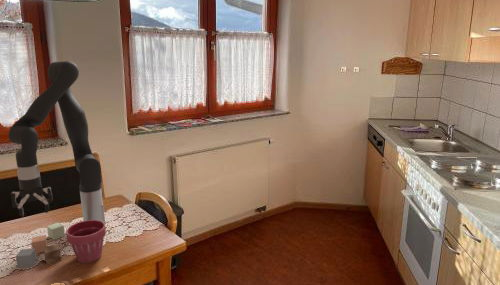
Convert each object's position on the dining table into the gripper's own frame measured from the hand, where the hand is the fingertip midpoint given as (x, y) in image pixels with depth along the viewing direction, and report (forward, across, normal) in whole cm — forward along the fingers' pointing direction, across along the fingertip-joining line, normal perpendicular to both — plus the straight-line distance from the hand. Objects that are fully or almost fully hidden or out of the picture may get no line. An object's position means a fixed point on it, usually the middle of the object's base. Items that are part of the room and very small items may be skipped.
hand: (34, 214), depth 159 cm
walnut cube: (+16, -5, +11) cm, 20 cm away
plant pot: (+16, -18, +15) cm, 28 cm away
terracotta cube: (+16, 0, 0) cm, 16 cm away
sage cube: (+16, -6, -10) cm, 20 cm away
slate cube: (+16, +4, +10) cm, 19 cm away
